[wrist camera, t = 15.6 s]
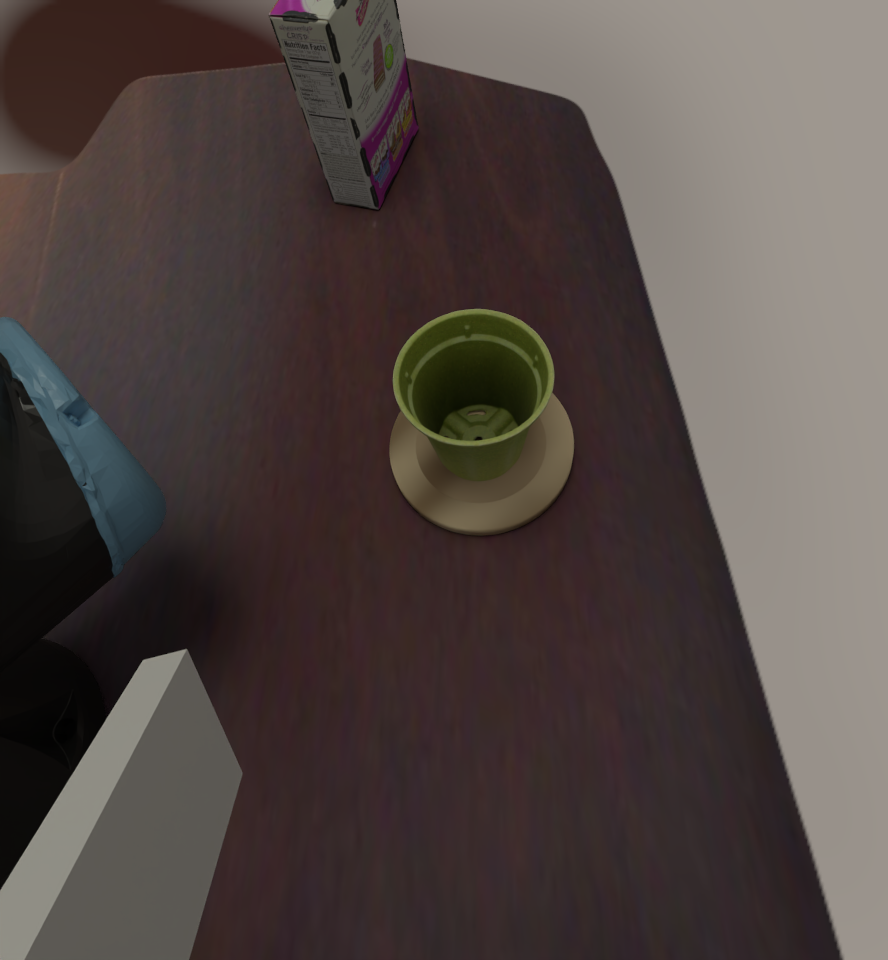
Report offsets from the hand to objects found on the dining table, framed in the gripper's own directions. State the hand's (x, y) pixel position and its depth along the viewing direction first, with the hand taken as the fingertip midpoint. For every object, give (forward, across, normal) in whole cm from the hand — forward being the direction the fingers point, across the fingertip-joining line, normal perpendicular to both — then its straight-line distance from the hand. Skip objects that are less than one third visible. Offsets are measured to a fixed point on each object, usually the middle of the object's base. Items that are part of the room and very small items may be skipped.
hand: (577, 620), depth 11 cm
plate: (+34, +1, -8) cm, 35 cm away
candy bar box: (+57, -1, +15) cm, 59 cm away
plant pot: (+34, +1, -7) cm, 34 cm away
